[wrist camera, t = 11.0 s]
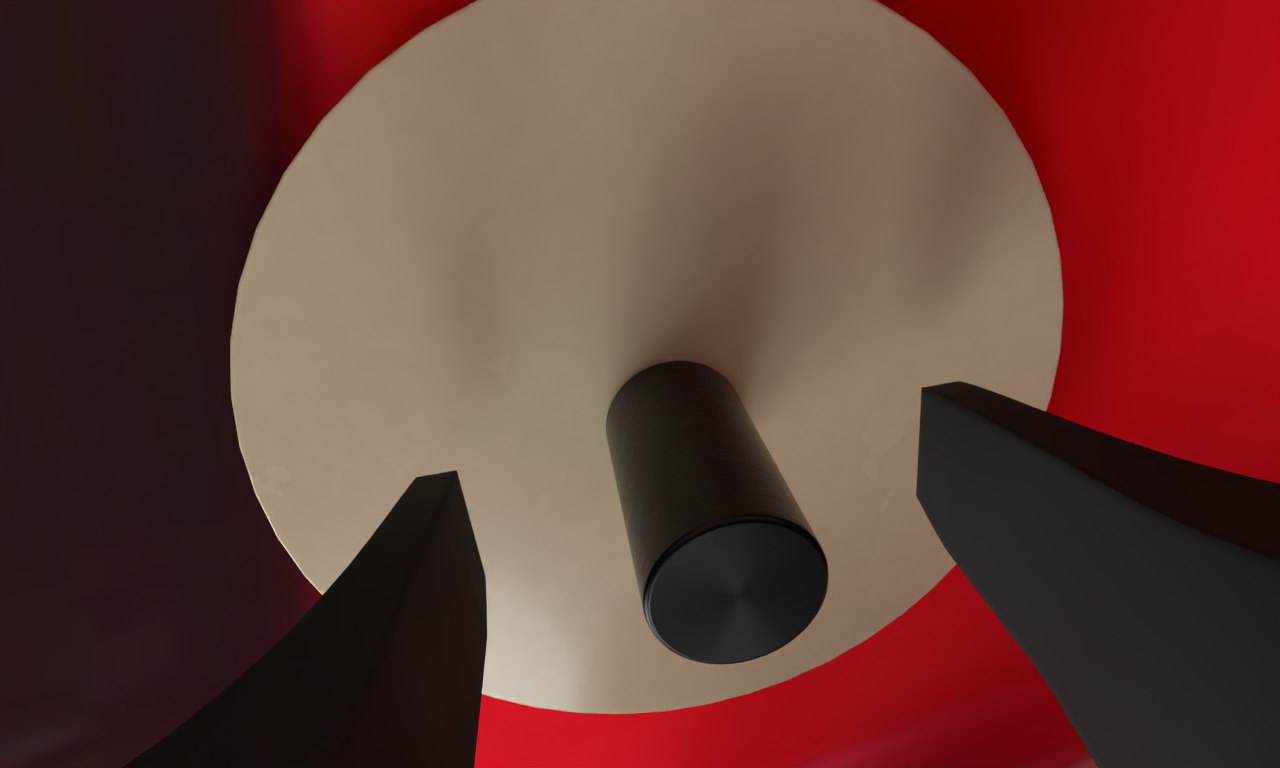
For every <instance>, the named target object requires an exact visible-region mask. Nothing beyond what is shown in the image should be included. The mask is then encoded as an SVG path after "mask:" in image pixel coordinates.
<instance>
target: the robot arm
mask: <svg viewBox="0 0 1280 768" xmlns="http://www.w3.org/2000/svg"><path fill="white" fill-rule="evenodd" d="M916 497H917V499H918V500H919V502H920V504H921V506H922V508H923V510H924V512H925V514H926V516H927V517H928V519H929V521H930V523H931V525H932V527H933V528H934V530H935V532H936V534H937V535H938V537H939V539H940V540H941V542H942V544H943V546H944V547H945V549H946V550H947V552H948V553H949V554H950V556H951V557H952V558H953V560H954V561H955V562H956V564H957V565H958V566H959V568H960V569H961V570H962V572H963V573H964V574H965V576H966V577H967V578H968V580H969V581H970V582H971V584H972V585H973V586H974V588H975V589H976V590H977V592H978V593H979V594H980V596H981V597H982V598H983V599H984V601H985V602H986V603H987V605H988V606H989V607H990V609H991V610H992V611H993V612H994V614H995V615H996V616H997V618H998V619H999V620H1000V622H1001V623H1002V624H1003V625H1004V627H1005V628H1006V629H1007V631H1008V632H1009V633H1010V635H1011V636H1012V637H1013V638H1014V640H1015V641H1016V642H1017V644H1018V645H1019V646H1020V648H1021V649H1022V650H1023V651H1024V653H1025V654H1026V655H1027V657H1028V658H1029V659H1030V661H1031V662H1032V663H1033V665H1034V666H1035V668H1036V669H1037V671H1038V672H1039V673H1040V675H1041V676H1042V678H1043V679H1044V681H1045V682H1046V683H1047V685H1048V686H1049V688H1050V689H1051V691H1052V693H1053V694H1054V696H1055V697H1056V699H1057V701H1058V702H1059V704H1060V706H1061V707H1062V709H1063V711H1064V712H1065V714H1066V715H1067V717H1068V719H1069V720H1070V722H1071V724H1072V725H1073V727H1074V728H1075V730H1076V732H1077V733H1078V735H1079V737H1080V738H1081V740H1082V742H1083V743H1084V745H1085V746H1086V748H1087V750H1088V752H1089V753H1090V755H1091V757H1092V759H1093V760H1094V762H1095V764H1096V766H1097V767H1098V768H1280V484H1279V483H1274V482H1270V481H1265V480H1261V479H1256V478H1252V477H1248V476H1244V475H1240V474H1236V473H1232V472H1229V471H1225V470H1221V469H1217V468H1213V467H1210V466H1206V465H1202V464H1198V463H1194V462H1191V461H1187V460H1184V459H1181V458H1177V457H1174V456H1170V455H1167V454H1164V453H1161V452H1158V451H1155V450H1152V449H1149V448H1146V447H1143V446H1140V445H1137V444H1133V443H1130V442H1127V441H1124V440H1121V439H1118V438H1116V437H1113V436H1110V435H1107V434H1104V433H1102V432H1099V431H1096V430H1093V429H1090V428H1088V427H1085V426H1082V425H1080V424H1077V423H1074V422H1072V421H1069V420H1066V419H1064V418H1061V417H1058V416H1056V415H1053V414H1051V413H1048V412H1046V411H1043V410H1040V409H1038V408H1035V407H1033V406H1030V405H1027V404H1025V403H1022V402H1020V401H1017V400H1014V399H1012V398H1009V397H1007V396H1004V395H1001V394H998V393H996V392H993V391H990V390H987V389H985V388H982V387H979V386H976V385H972V384H969V383H965V382H962V381H956V382H951V383H945V384H939V385H934V386H928V387H922V389H921V409H920V429H919V448H918V468H917V488H916ZM486 645H487V600H486V576H485V572H484V568H483V565H482V561H481V557H480V554H479V550H478V546H477V543H476V539H475V535H474V532H473V528H472V524H471V521H470V517H469V513H468V510H467V506H466V502H465V499H464V495H463V491H462V487H461V484H460V480H459V476H458V473H457V470H454V471H449V472H443V473H438V474H432V475H426V476H421V477H416V478H415V479H414V480H413V482H412V483H411V484H410V486H409V487H408V488H407V489H406V491H405V492H404V493H403V495H402V496H401V497H400V499H399V500H398V501H397V503H396V504H395V505H394V507H393V508H392V509H391V511H390V512H389V513H388V515H387V516H386V518H385V519H384V520H383V522H382V523H381V524H380V526H379V527H378V528H377V530H376V531H375V532H374V534H373V535H372V536H371V537H370V539H369V540H368V541H367V543H366V544H365V545H364V546H363V548H362V549H361V550H360V552H359V553H358V554H357V555H356V557H355V558H354V559H353V560H352V562H351V563H350V564H349V565H348V567H347V568H346V569H345V570H344V571H343V572H342V573H341V575H340V576H339V577H338V578H337V579H336V580H335V582H334V583H333V584H332V585H331V586H330V587H329V588H328V590H327V591H326V592H325V593H324V594H323V595H322V596H321V598H320V599H319V600H318V601H317V602H316V603H315V605H314V606H313V607H312V608H311V609H310V610H309V611H308V612H307V613H306V614H305V615H304V616H303V617H302V619H301V620H300V621H299V622H298V623H297V624H296V625H295V626H294V627H293V628H292V629H291V630H290V631H289V632H288V633H287V634H286V635H285V636H284V637H283V638H282V639H281V640H279V641H278V642H277V643H276V644H275V645H274V646H273V647H272V648H271V649H270V650H269V651H268V652H267V653H266V654H265V655H264V656H263V657H262V658H261V659H259V660H258V661H257V662H256V663H255V664H254V665H253V666H252V667H251V668H250V669H248V670H247V671H246V672H245V673H244V674H243V675H241V676H240V677H239V678H238V679H237V680H235V681H234V682H233V683H232V684H231V685H229V686H228V687H227V688H226V689H224V690H223V691H222V692H221V693H220V694H218V695H217V696H216V697H215V698H214V699H212V700H211V701H210V702H209V703H208V704H206V705H205V706H204V707H203V708H202V709H200V710H199V711H198V712H197V713H196V714H194V715H193V716H192V717H191V718H190V719H188V720H187V721H186V722H184V723H183V724H182V725H180V726H179V727H178V728H177V729H175V730H174V731H172V732H171V733H170V734H168V735H167V736H166V737H164V738H163V739H162V740H160V741H159V742H158V743H156V744H155V745H154V746H152V747H151V748H150V749H148V750H147V751H146V752H144V753H143V754H141V755H140V756H138V757H137V758H136V759H134V760H133V761H131V762H130V763H128V764H127V765H126V766H124V767H123V768H474V762H475V752H476V743H477V733H478V724H479V714H480V705H481V695H482V686H483V676H484V666H485V656H486Z"/></svg>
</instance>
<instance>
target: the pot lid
mask: <svg viewBox="0 0 1280 768" xmlns="http://www.w3.org/2000/svg"><path fill="white" fill-rule="evenodd" d="M1063 310H1064V299H1063V284H1062V269H1061V255H1060V251H1059V246H1058V242H1057V237H1056V232H1055V228H1054V223H1053V219H1052V214H1051V209H1050V206H1049V203H1048V201H1047V198H1046V196H1045V193H1044V190H1043V188H1042V185H1041V182H1040V180H1039V177H1038V175H1037V172H1036V169H1035V167H1034V164H1033V162H1032V159H1031V157H1030V156H1029V154H1028V152H1027V150H1026V149H1025V147H1024V145H1023V143H1022V142H1021V140H1020V138H1019V136H1018V135H1017V133H1016V131H1015V130H1014V128H1013V126H1012V124H1011V123H1010V121H1009V119H1008V117H1007V116H1006V114H1005V112H1004V111H1003V110H1002V109H1001V107H1000V106H999V105H998V104H997V103H996V101H995V100H994V99H993V98H992V96H991V95H990V94H989V93H988V91H987V90H986V89H985V88H984V87H983V85H982V84H981V83H980V82H979V80H978V79H977V78H976V77H975V75H974V74H973V73H972V72H971V71H970V70H969V69H968V68H967V67H966V66H965V65H964V64H963V63H962V62H960V61H959V60H958V59H957V58H956V57H955V56H954V55H953V54H951V53H950V52H949V51H948V50H947V49H946V48H945V47H944V46H942V45H941V44H940V43H939V42H938V41H937V40H936V39H935V38H933V37H932V36H931V35H930V34H929V33H928V32H926V31H925V30H923V29H922V28H920V27H918V26H917V25H915V24H914V23H912V22H911V21H909V20H907V19H906V18H904V17H903V16H901V15H900V14H898V13H896V12H895V11H893V10H892V9H890V8H889V7H887V6H885V5H884V4H882V3H881V2H879V1H877V0H476V1H474V2H472V3H470V4H469V5H467V6H465V7H463V8H461V9H460V10H458V11H456V12H454V13H452V14H451V15H449V16H447V17H445V18H443V19H441V20H440V21H438V22H436V23H434V24H432V25H431V26H429V27H427V28H425V29H423V30H422V31H420V32H419V33H418V34H417V35H415V36H414V37H413V38H411V39H410V40H409V41H407V42H406V43H405V44H403V45H402V46H401V47H400V48H398V49H397V50H396V51H394V52H393V53H392V54H390V55H389V56H388V57H386V58H385V59H384V60H383V61H381V62H380V63H379V64H377V65H376V66H375V67H373V68H372V69H371V70H369V71H368V72H367V73H366V74H365V75H364V76H363V77H362V78H361V79H360V80H359V81H358V82H357V83H356V84H355V86H354V87H353V88H352V89H351V90H350V91H349V92H348V93H347V94H346V95H345V96H344V97H343V98H342V99H341V100H340V101H339V102H338V103H337V104H336V105H335V106H334V107H333V108H332V109H331V110H330V111H329V112H328V113H327V115H326V116H325V117H324V118H323V119H322V120H321V121H320V122H319V124H318V125H317V127H316V128H315V129H314V131H313V132H312V134H311V135H310V137H309V138H308V139H307V141H306V142H305V144H304V145H303V146H302V148H301V149H300V151H299V152H298V154H297V155H296V156H295V158H294V159H293V161H292V162H291V163H290V165H289V166H288V168H287V169H286V170H285V172H284V174H283V176H282V178H281V180H280V182H279V184H278V186H277V188H276V190H275V192H274V194H273V196H272V198H271V200H270V202H269V204H268V206H267V208H266V210H265V212H264V214H263V216H262V218H261V220H260V222H259V224H258V226H257V228H256V231H255V234H254V237H253V240H252V244H251V247H250V250H249V253H248V256H247V259H246V263H245V266H244V269H243V272H242V275H241V278H240V282H239V285H238V292H237V299H236V305H235V312H234V319H233V326H232V332H231V339H230V361H231V398H232V404H233V410H234V416H235V422H236V428H237V434H238V440H239V446H240V449H241V452H242V455H243V458H244V461H245V464H246V467H247V470H248V473H249V476H250V479H251V482H252V485H253V488H254V491H255V494H256V496H257V498H258V500H259V502H260V504H261V506H262V508H263V510H264V512H265V514H266V516H267V518H268V520H269V522H270V524H271V526H272V528H273V530H274V532H275V533H276V535H277V537H278V539H279V540H280V542H281V543H282V545H283V546H284V548H285V549H286V550H287V552H288V553H289V555H290V556H291V557H292V559H293V560H294V562H295V563H296V565H297V566H298V567H299V569H300V570H301V572H302V573H303V574H304V576H305V577H306V578H307V579H308V580H309V581H310V582H311V584H312V585H313V586H314V587H315V588H316V589H317V590H318V591H319V592H320V593H321V594H322V595H323V594H324V593H325V592H326V591H327V590H328V588H329V587H330V586H331V585H332V584H333V583H334V582H335V580H336V579H337V578H338V577H339V576H340V575H341V573H342V572H343V571H344V570H345V569H346V568H347V567H348V565H349V564H350V563H351V562H352V560H353V559H354V558H355V557H356V555H357V554H358V553H359V552H360V550H361V549H362V548H363V546H364V545H365V544H366V543H367V541H368V540H369V539H370V537H371V536H372V535H373V534H374V532H375V531H376V530H377V528H378V527H379V526H380V524H381V523H382V522H383V520H384V519H385V518H386V516H387V515H388V513H389V512H390V511H391V509H392V508H393V507H394V505H395V504H396V503H397V501H398V500H399V499H400V497H401V496H402V495H403V493H404V492H405V491H406V489H407V488H408V487H409V486H410V484H411V483H412V482H413V480H414V479H415V478H416V477H421V476H426V475H432V474H438V473H443V472H449V471H454V470H457V473H458V476H459V480H460V484H461V487H462V491H463V495H464V499H465V502H466V506H467V510H468V513H469V517H470V521H471V524H472V528H473V532H474V535H475V539H476V543H477V546H478V550H479V554H480V557H481V561H482V565H483V568H484V572H485V576H486V600H487V645H486V656H485V666H484V676H483V686H482V694H484V695H487V696H489V697H493V698H497V699H501V700H506V701H510V702H514V703H518V704H523V705H527V706H531V707H537V708H544V709H552V710H560V711H567V712H575V713H601V714H630V713H645V712H661V711H669V710H675V709H681V708H688V707H694V706H700V705H707V704H711V703H714V702H718V701H722V700H726V699H730V698H734V697H738V696H742V695H746V694H750V693H752V692H755V691H758V690H761V689H764V688H767V687H769V686H772V685H775V684H778V683H781V682H784V681H786V680H789V679H791V678H794V677H796V676H798V675H800V674H802V673H804V672H807V671H809V670H811V669H813V668H815V667H818V666H820V665H822V664H824V663H826V662H829V661H830V660H832V659H834V658H835V657H837V656H839V655H841V654H842V653H844V652H846V651H848V650H849V649H851V648H853V647H855V646H856V645H858V644H860V643H862V642H863V641H865V640H867V639H868V638H870V637H871V636H872V635H874V634H875V633H877V632H878V631H880V630H881V629H882V628H884V627H885V626H887V625H888V624H889V623H891V622H892V621H894V620H895V619H897V618H898V617H899V616H901V615H902V614H903V613H905V612H906V611H907V610H908V609H909V608H910V607H912V606H913V605H914V604H915V603H916V602H917V601H919V600H920V599H921V598H922V597H923V596H924V595H926V594H927V593H928V592H929V591H930V590H931V589H933V588H934V587H935V586H936V585H937V584H938V583H939V582H940V581H941V580H942V579H943V578H944V577H945V576H946V574H947V573H948V572H949V571H950V570H951V569H952V568H953V567H954V566H955V565H956V562H955V561H954V560H953V558H952V557H951V556H950V554H949V553H948V552H947V550H946V549H945V547H944V546H943V544H942V542H941V540H940V539H939V537H938V535H937V534H936V532H935V530H934V528H933V527H932V525H931V523H930V521H929V519H928V517H927V516H926V514H925V512H924V510H923V508H922V506H921V504H920V502H919V500H918V499H917V497H916V488H917V468H918V448H919V429H920V409H921V389H922V387H928V386H934V385H939V384H945V383H951V382H956V381H962V382H965V383H969V384H972V385H976V386H979V387H982V388H985V389H987V390H990V391H993V392H996V393H998V394H1001V395H1004V396H1007V397H1009V398H1012V399H1014V400H1017V401H1020V402H1022V403H1025V404H1027V405H1030V406H1033V407H1035V408H1038V409H1040V410H1043V411H1047V408H1048V405H1049V402H1050V399H1051V395H1052V390H1053V385H1054V381H1055V376H1056V371H1057V366H1058V361H1059V356H1060V351H1061V337H1062V324H1063Z"/></svg>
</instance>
